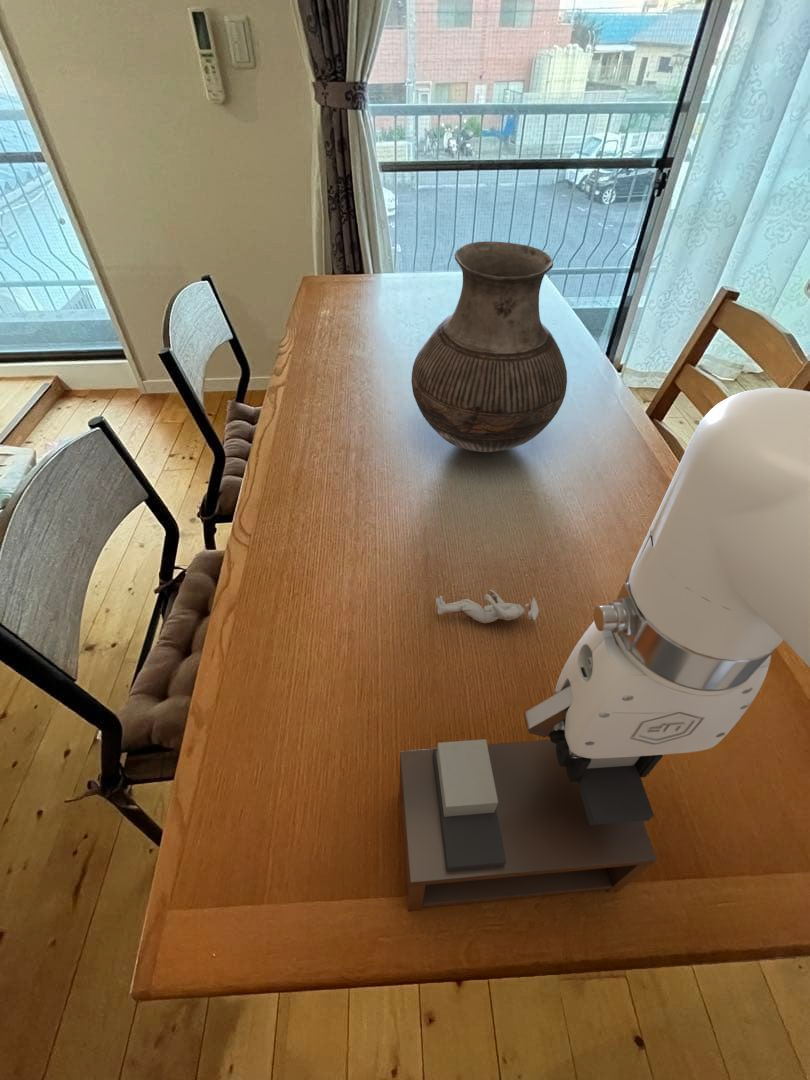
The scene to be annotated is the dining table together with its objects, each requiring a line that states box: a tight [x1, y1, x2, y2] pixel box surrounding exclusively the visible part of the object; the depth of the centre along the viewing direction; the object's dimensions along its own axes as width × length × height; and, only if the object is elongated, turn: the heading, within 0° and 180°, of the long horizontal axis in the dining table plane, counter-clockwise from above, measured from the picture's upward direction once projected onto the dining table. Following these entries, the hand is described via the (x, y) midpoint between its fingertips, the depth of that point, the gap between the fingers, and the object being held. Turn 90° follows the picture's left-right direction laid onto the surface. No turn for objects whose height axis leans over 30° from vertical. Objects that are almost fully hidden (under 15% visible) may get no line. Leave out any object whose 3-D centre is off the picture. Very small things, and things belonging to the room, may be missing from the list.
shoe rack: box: [398, 739, 658, 912], centre depth 49 cm, size 10×19×10 cm, turn 95°
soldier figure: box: [435, 589, 540, 624], centre depth 69 cm, size 8×5×12 cm
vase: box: [411, 240, 568, 453], centre depth 86 cm, size 25×25×30 cm
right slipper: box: [577, 756, 655, 825], centre depth 42 cm, size 9×4×3 cm, turn 4°
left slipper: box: [432, 738, 506, 872], centre depth 44 cm, size 9×4×3 cm, turn 5°
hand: (601, 758), depth 42 cm, fingers closed on right slipper, 4 cm apart
